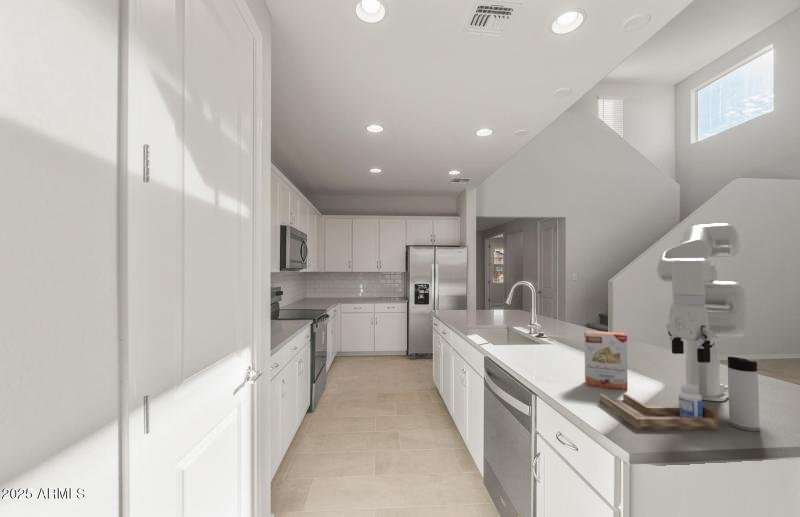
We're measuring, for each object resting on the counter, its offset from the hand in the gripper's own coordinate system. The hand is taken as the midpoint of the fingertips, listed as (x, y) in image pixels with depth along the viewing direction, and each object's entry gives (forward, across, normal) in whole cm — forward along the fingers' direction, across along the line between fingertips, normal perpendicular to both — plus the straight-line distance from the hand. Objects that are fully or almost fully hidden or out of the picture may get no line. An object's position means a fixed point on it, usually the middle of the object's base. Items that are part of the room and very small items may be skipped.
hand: (690, 357), depth 105 cm
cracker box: (+20, -32, -8) cm, 38 cm away
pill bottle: (+18, 0, 0) cm, 18 cm away
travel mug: (+20, +3, +12) cm, 23 cm away
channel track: (+19, -5, -9) cm, 22 cm away
